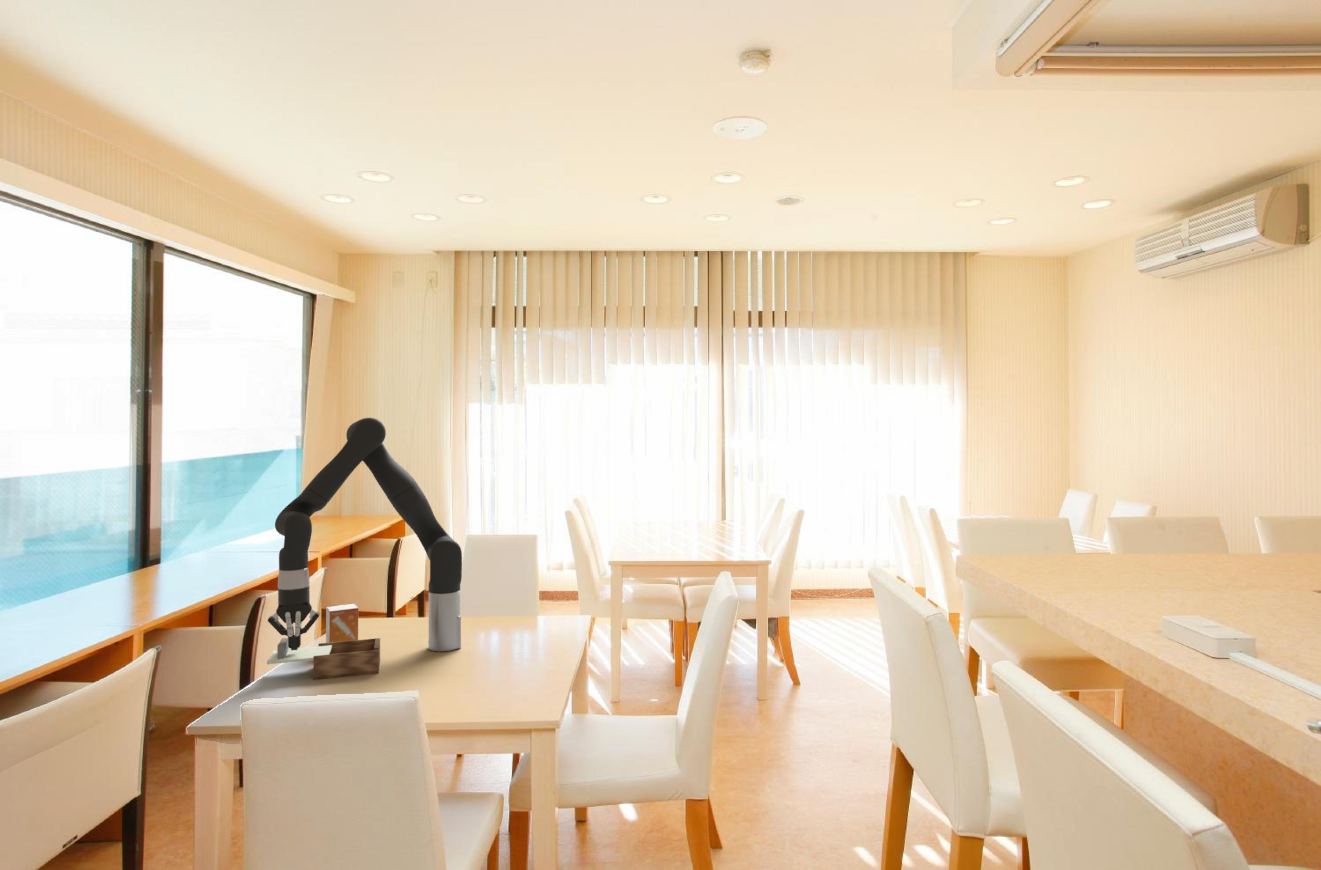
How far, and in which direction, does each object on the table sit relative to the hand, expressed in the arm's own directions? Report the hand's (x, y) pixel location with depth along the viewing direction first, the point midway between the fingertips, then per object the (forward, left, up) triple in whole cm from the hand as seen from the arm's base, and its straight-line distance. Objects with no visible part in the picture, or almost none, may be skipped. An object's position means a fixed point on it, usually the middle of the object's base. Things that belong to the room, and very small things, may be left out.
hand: (294, 649), depth 192 cm
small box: (-10, -19, -7) cm, 23 cm away
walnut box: (-13, 0, -7) cm, 15 cm away
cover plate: (-2, 0, -2) cm, 2 cm away
